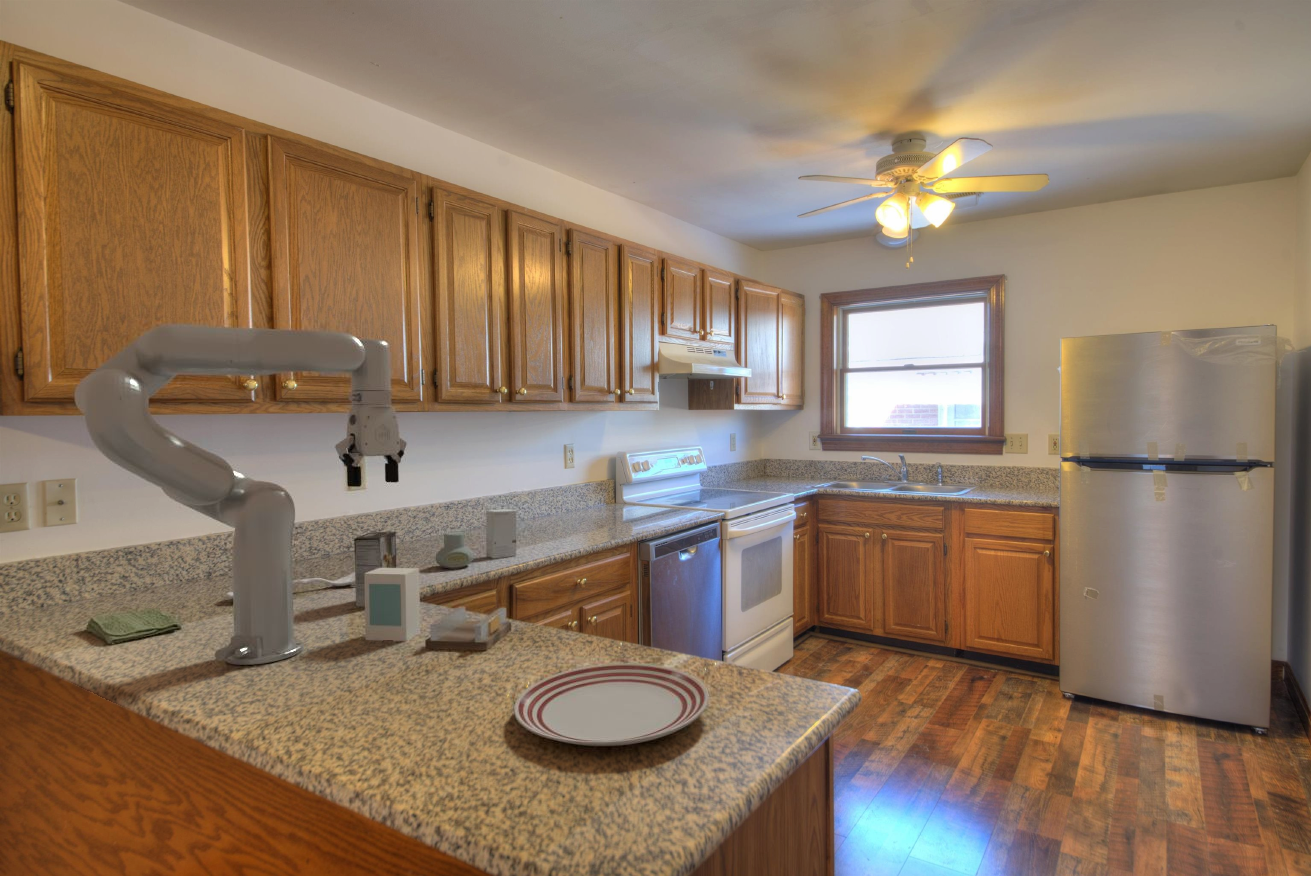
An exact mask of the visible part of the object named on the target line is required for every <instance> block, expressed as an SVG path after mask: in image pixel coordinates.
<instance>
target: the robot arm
mask: <svg viewBox="0 0 1311 876" xmlns="http://www.w3.org/2000/svg"><path fill="white" fill-rule="evenodd" d="M390 349H391V348H390V344H389V343H388V342H386V341H385V340H383V339H377V338H376V339H375V338H357V337H356V336H355V335H353V334H350V333H347V332H342V331H341V332H340V331H324V330H309V329H307V330H306V329H275V328H255V327H254V328H252V327H230V326H214V325H199V324H198V325H197V324H186V323H185V324H183V323H178V324H177V323H169V324H161V325H159V326H156V327H153V328H152V329H149V330H147V331H145V332H144V333H143V334H141V335H139V336H138V337H137V338H136V339H135V340H133V341H132V342H131V343H130V344H128V345H127V346H126V347H124V348H123V349H122V350H120V351H119V352H118V353H117V354H115V355H114V356H112V357H111V358H110V359H108V360H107V361H105V362H104V363H103V364H101V365H100V366H98V367H97V368H95V370H93V371H92V372H90V373H89V374H87V375H86V376H85V377H83V378H82V379H81V380H80V381H79V382H78V384H77V385H76V387H75V390H74V396H73V397H74V403H75V406H76V408H77V409H78V410H79V411H80V412H81V413H82V414H83V415H84V418H85V419H84V421H85V426H86V429H87V432H88V434H89V436H90V438H91V440H92V442H93V444H94V445H95V446H96V448H97V449H98V450H99V452H101V454H102V455H103V456H104V457H106V458H107V459H108V460H110V462H112V463H114V464H115V465H117V466H118V467H121V468H122V469H124V470H126V471H128V472H130V473H132V474H134V475H136V476H137V477H139V478H141V479H143V480H145V481H146V482H148V483H151V484H153V485H154V486H157V487H159V488H160V489H161V490H162V491H163V493H164V494H165V495H166V496H167V497H168V498H170V499H172V500H173V501H175V502H177V503H178V504H179V503H180V505H183V506H185V507H188V508H189V509H192V510H194V511H196V512H198V513H200V514H202V515H204V516H207V517H208V518H211V519H212V520H215V521H217V522H220V523H222V524H223V525H227V526H228V527H231V528H232V529H234V538H233V545H232V558H231V559H232V560H231V565H232V566H231V567H232V569H231V570H232V592H233V599H232V600H233V603H232V604H233V607H232V609H233V635H231V637H230V642H229V644H228V645H227V646H223V647H221V648H218V649H217V650H216V651H215V653H214V657H215V659H216V660H218V661H223V660H224V661H225V662H226V663H228V664H231V665H235V666H236V665H237V666H238V665H239V666H243V665H244V666H249V665H250V666H251V665H252V666H253V665H262V664H268V663H274V662H278V661H282V660H284V659H288V658H291V657H294V656H295V655H298V654H299V653H301V651H303V650H304V641H303V640H301V639H298V638H295V630H294V625H295V624H294V588H293V587H294V585H293V581H294V580H293V579H294V578H293V575H294V574H293V535H294V527H295V521H296V507H295V503H294V499H293V498H292V496H291V494H290V493H289V492H288V491H287V490H286V488H283V487H282V486H281V485H279V484H276V483H273V482H269V481H262V480H255V479H253V478H250V477H248V476H247V475H245V474H242V473H240V472H239V471H237V470H236V469H233V468H232V466H231V465H230V464H229V462H227V460H225V459H224V458H223V457H221V456H219V455H217V454H215V453H213V452H210V451H207V450H206V449H203V448H202V447H199V446H197V445H196V444H193V443H191V442H189V441H187V440H186V439H183V438H182V437H180V436H178V435H177V434H175V433H173V432H171V431H170V430H168V429H166V428H165V427H163V426H162V425H161V424H159V423H158V422H157V421H156V420H155V419H154V417H153V416H152V414H151V412H150V408H149V401H150V398H151V397H153V396H154V395H155V394H156V393H158V391H160V390H161V389H162V388H163V387H165V386H166V385H167V384H169V382H171V380H173V379H174V378H175V377H176V376H178V375H187V376H188V375H194V376H195V375H197V376H199V375H200V376H251V377H252V376H269V375H276V374H283V373H291V372H293V373H294V372H315V373H317V374H319V375H323V376H334V375H343V374H350V394H349V395H348V401H350V402H351V407H349V411H348V416H347V424H346V437H345V438H344V439H342V440H341V441H340V442H338V443H337V444H335V446H334V448H335V450H336V452H337V455H338V458H339V459H340V461H342V464H343V466H344V467H346V485H347V487H349V488H350V487H353V488H360V487H361V486H362V467H361V466H360V465H359V464H360V463H361V461H362V460H363V458H364V457H383V458H384V459H385V460H386V462H385V463H384V475H385V476H384V480H385V482H386V483H399V482H400V481H399V479H400V477H399V474H400V473H399V464H400V463H401V461H402V458H403V456H404V455H405V449H406V448H407V444H408V443H407V441H405V440H404V439H402V438H400V432H399V431H400V430H399V423H398V417H397V413H396V409H395V407H392V382H391V350H390Z"/></svg>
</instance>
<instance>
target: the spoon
mask: <svg viewBox="0 0 1311 876" xmlns="http://www.w3.org/2000/svg"><path fill="white" fill-rule="evenodd" d="M310 583H311V584H312V583H322V584H327V585H329V586H335V587H346V586H350V585H354V584H355V571H353V572H351V573H349V574H348V575H345V576H344V577H341V578H338V579H335V580H329V579H324V578H320V577H313V578H312V577H311V578H303V579H301V578H300V579H296V580H293V586H297V585H304V584H305V585H306V584H310ZM225 596H226V598H228V599H231V600H233V591H229V592H226V593H225Z"/></svg>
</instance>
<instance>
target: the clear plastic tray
mask: <svg viewBox="0 0 1311 876" xmlns="http://www.w3.org/2000/svg"><path fill="white" fill-rule="evenodd" d="M465 621H467V620H466V606H458V607H456V608H455V609H453V610H452V611H450V612H449V613H446V614H445V615H443V616H442V617H440V618H438V619H437V620H435V621H434V622H432V623H430V624H429V625H430V628H429V629H430V637H431V641H437V640H438V639H440V638H441V637H443V636H444V635H446V634H447V633H449V632H450V631H452V630H453V629H455V628H456V627H458V626H459V625H461V624H462V623H464V622H465ZM479 622H480V623H478V624H477V625H475V642H482V641H483V640H485V639H486V638H487V637H488V636H490V635H491V634H492V633H494V632H495V631H496V630H497V629H499V628H500V627H501V626H502V625H504V624H505V623H506V622H507V608H506V607H499V608H498V609H496V610H495V611H493V612H492V613H490V614H489V615H488V616H486V617H485V618H484V619H482V620H481V621H479Z"/></svg>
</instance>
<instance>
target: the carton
mask: <svg viewBox="0 0 1311 876" xmlns="http://www.w3.org/2000/svg"><path fill="white" fill-rule="evenodd" d="M364 578H365V607H364V613H365V615H364V617H365V618H364V619H365V621H364V622H365V625H364V626H365V627H364V628H365V641H383V640H393V641H392V642H408V641H409V639H410V640H411V639H413V638H414V637H416V636H418V635H419V634H421V609H420V608H421V606H420V603H421V602H420V601H421V600H420V568H418V567H417V568H413V567H411V568H409V567H404V568H403V567H396V568H378V569H375V570H372V571H370V572H367V573H365V574H364ZM418 633H419V634H418ZM417 634H418V635H417ZM415 635H416V636H415ZM413 636H414V637H413ZM412 637H413V638H412ZM407 640H408V641H407Z"/></svg>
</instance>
